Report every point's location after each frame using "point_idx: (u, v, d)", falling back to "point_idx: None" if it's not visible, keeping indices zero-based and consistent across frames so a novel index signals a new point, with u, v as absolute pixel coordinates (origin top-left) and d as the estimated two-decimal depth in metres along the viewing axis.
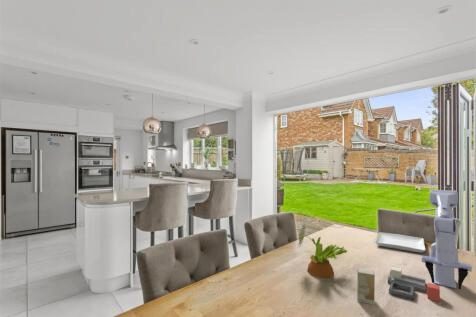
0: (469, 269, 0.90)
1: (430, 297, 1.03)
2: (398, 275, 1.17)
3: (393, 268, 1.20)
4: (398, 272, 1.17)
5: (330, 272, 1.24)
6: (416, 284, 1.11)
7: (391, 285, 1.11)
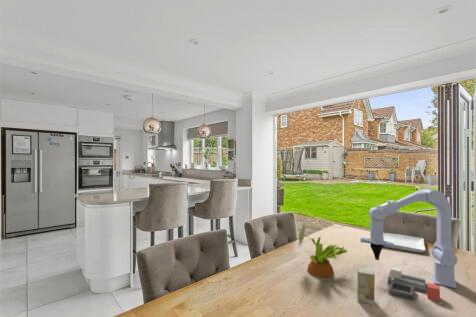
0: (392, 246, 1.19)
1: (430, 297, 1.03)
2: (398, 275, 1.17)
3: (393, 268, 1.20)
4: (398, 272, 1.17)
5: (330, 272, 1.24)
6: (416, 284, 1.11)
7: (391, 285, 1.11)
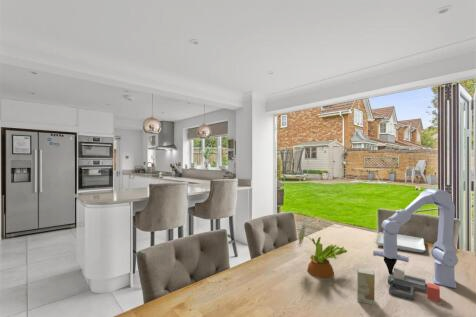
0: (406, 260, 1.16)
1: (430, 297, 1.03)
2: (401, 276, 1.16)
3: (396, 269, 1.19)
4: (401, 273, 1.16)
5: (330, 272, 1.24)
6: (416, 284, 1.11)
7: (391, 285, 1.11)
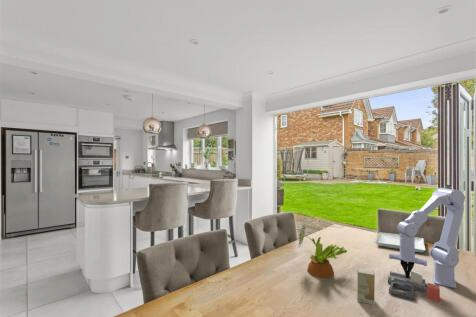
0: (425, 264, 1.11)
1: (430, 297, 1.03)
2: (419, 280, 1.12)
3: (413, 272, 1.15)
4: (419, 277, 1.12)
5: (330, 272, 1.24)
6: (416, 284, 1.11)
7: (391, 285, 1.11)
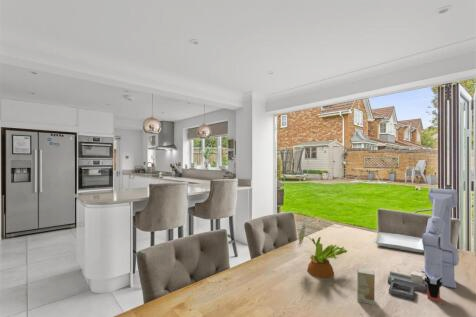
0: (430, 280, 1.00)
1: (430, 297, 1.03)
2: (419, 280, 1.12)
3: (413, 272, 1.15)
4: (419, 277, 1.12)
5: (330, 272, 1.24)
6: (416, 284, 1.11)
7: (391, 285, 1.11)
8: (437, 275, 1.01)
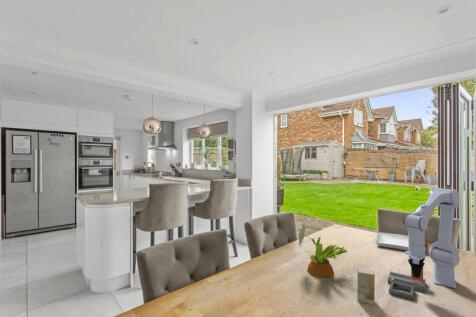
0: (412, 261, 1.02)
1: (414, 278, 1.05)
2: None
3: None
4: None
5: (330, 272, 1.24)
6: (416, 284, 1.11)
7: (391, 285, 1.11)
8: (420, 256, 1.03)
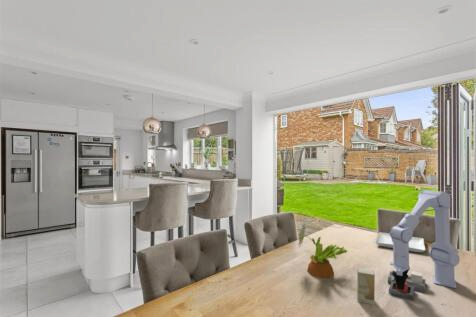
0: (396, 272, 1.04)
1: None
2: (419, 280, 1.12)
3: (413, 272, 1.15)
4: (419, 277, 1.12)
5: (330, 272, 1.24)
6: (416, 284, 1.11)
7: (391, 285, 1.11)
8: (404, 267, 1.06)
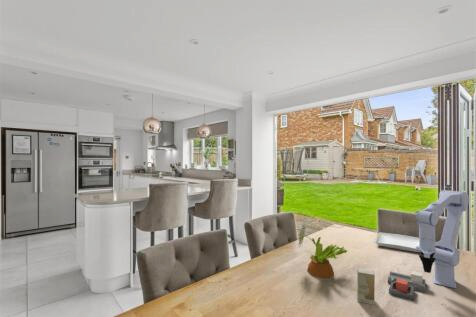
0: (424, 255, 1.06)
1: None
2: (419, 280, 1.12)
3: (413, 272, 1.15)
4: (419, 277, 1.12)
5: (330, 272, 1.24)
6: (416, 284, 1.11)
7: (391, 285, 1.11)
8: (431, 250, 1.07)
